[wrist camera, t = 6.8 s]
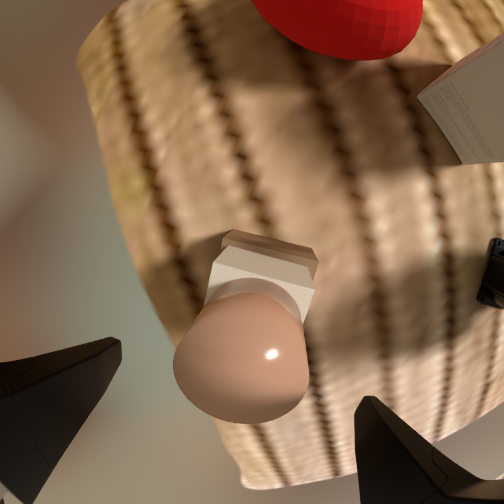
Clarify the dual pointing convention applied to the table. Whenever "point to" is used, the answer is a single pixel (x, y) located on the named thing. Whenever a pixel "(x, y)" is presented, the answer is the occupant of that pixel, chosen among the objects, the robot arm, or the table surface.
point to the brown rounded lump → (245, 354)
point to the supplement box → (471, 104)
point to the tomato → (346, 25)
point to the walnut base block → (272, 249)
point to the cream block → (262, 274)
